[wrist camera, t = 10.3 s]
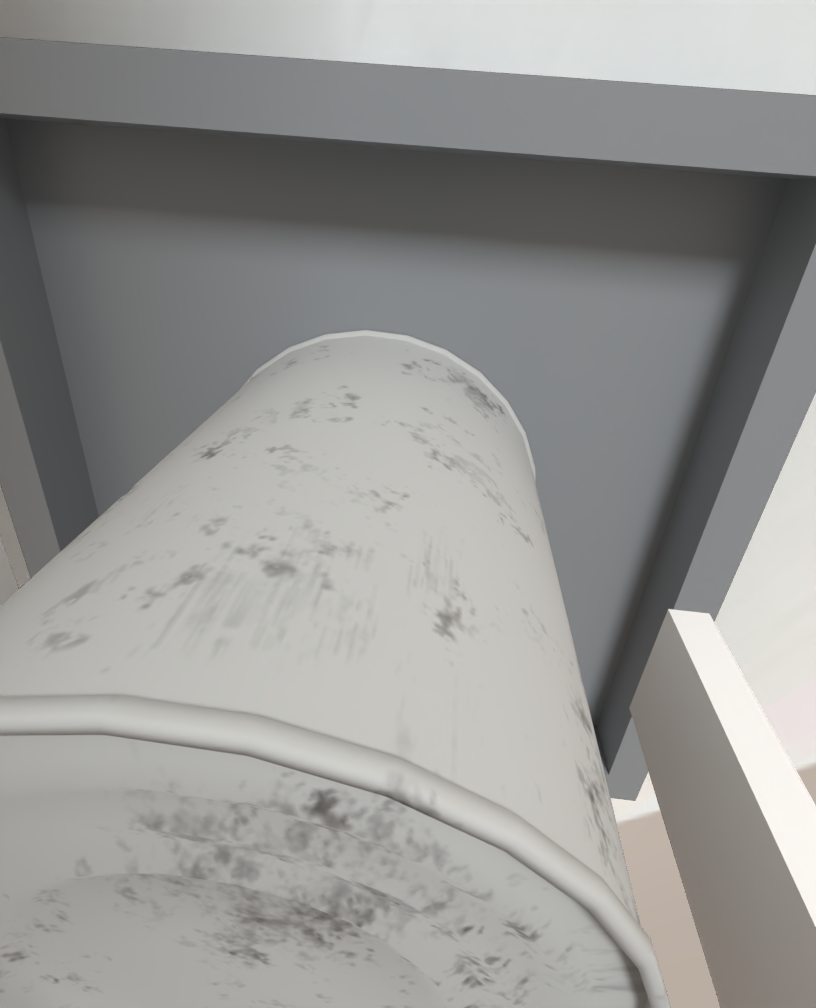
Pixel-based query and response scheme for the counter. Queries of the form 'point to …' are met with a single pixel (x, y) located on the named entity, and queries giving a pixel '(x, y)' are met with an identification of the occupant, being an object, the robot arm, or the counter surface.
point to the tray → (420, 292)
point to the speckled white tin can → (313, 720)
